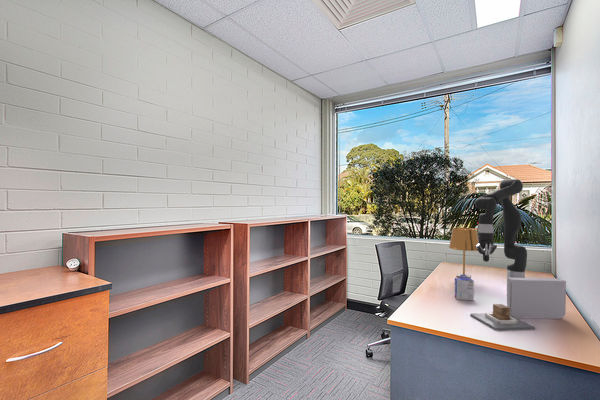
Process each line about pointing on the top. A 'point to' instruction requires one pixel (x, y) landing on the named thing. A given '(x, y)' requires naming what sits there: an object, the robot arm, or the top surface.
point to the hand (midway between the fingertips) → (486, 261)
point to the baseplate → (502, 322)
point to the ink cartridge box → (464, 288)
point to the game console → (536, 297)
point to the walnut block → (501, 312)
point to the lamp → (464, 243)
